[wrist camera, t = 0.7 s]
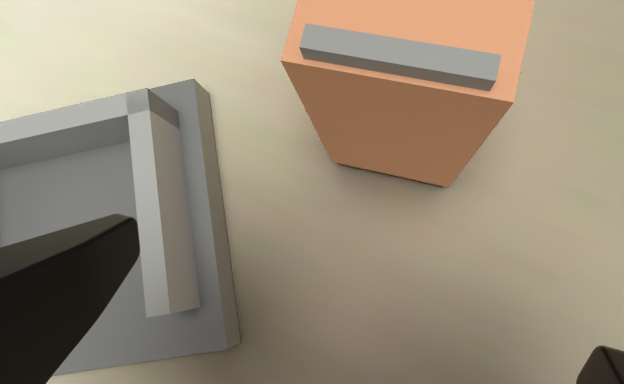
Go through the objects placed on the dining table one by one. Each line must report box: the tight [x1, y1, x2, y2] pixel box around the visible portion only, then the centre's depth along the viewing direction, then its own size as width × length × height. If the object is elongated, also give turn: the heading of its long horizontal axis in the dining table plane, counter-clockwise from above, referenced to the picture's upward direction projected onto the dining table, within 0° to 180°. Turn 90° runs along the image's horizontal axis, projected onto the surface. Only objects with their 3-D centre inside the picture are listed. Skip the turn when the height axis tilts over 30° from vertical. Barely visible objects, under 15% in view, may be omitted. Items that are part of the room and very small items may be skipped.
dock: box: [0, 79, 241, 376], centre depth 22 cm, size 13×13×5 cm
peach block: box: [281, 0, 535, 187], centre depth 17 cm, size 4×6×13 cm
